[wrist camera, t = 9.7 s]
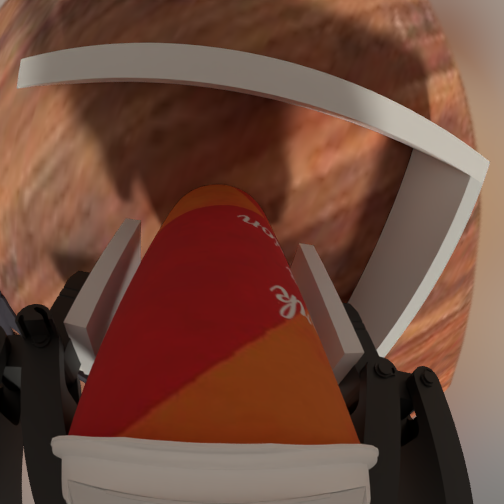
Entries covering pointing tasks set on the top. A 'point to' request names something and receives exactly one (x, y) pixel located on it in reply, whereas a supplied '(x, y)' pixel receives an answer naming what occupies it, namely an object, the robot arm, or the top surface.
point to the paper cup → (213, 378)
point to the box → (338, 105)
